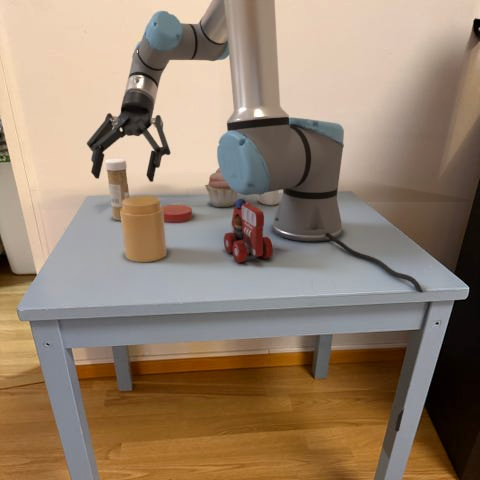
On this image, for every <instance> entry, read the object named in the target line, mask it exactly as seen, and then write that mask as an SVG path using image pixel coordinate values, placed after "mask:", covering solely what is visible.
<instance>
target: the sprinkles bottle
mask: <svg viewBox="0 0 480 480" xmlns="http://www.w3.org/2000/svg"><path fill="white" fill-rule="evenodd" d="M104 163H105V170H106V173H107V179H108V189H109V190H108V191H109V198H110V205H111V209H112V218H113V220H115V221H120V222H121V216H120V209H121V208H122V207H123V205H122V201H123V200H124V199H126V198H129V197H130V191H129V183H128V176H127V161H126V159H124V158H110V159H109V158H108V159H106V160H105V161H104Z"/></svg>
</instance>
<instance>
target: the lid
mask: <svg viewBox="0 0 480 480" xmlns="http://www.w3.org/2000/svg"><path fill="white" fill-rule="evenodd" d="M162 207H163V211H164V223H173V224H174V223H176V224H177V223H184V222H188V221H190V220H192V219H193V208H192V207H191V206H189V205H185V204H167V205H163V206H162Z"/></svg>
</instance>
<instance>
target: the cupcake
mask: <svg viewBox="0 0 480 480" xmlns="http://www.w3.org/2000/svg"><path fill="white" fill-rule="evenodd" d="M204 187H205V189H206V191H207V193H208V197H209V201H210V204H211V205H212V206H214V207H217V208H231V207H233V206H235V205H236V201H237V197H238V193H236V192H235V191H233V190H232V189H231V188H230V187H229V185H228V183H226V181H225V180H224V178H223V176H222V174H221V171H220V168H219V167H218V169H216V170H215V172H214V173H212V174H210V176H209V179H208V183H207V184H205V185H204Z"/></svg>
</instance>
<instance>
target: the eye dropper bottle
mask: <svg viewBox="0 0 480 480" xmlns="http://www.w3.org/2000/svg"><path fill="white" fill-rule="evenodd" d="M257 198H258V200H257V201H258V202H259V203H260V204H263V205H266V206H276V205H279V204H278V203H279V190H277V191H271V192H266V193H264V194H261V195H258V197H257Z"/></svg>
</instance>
